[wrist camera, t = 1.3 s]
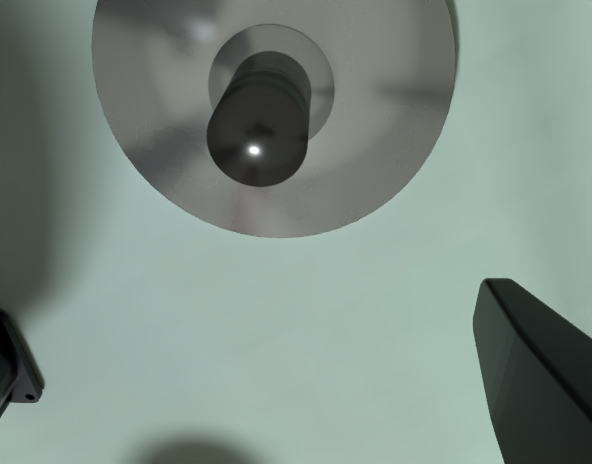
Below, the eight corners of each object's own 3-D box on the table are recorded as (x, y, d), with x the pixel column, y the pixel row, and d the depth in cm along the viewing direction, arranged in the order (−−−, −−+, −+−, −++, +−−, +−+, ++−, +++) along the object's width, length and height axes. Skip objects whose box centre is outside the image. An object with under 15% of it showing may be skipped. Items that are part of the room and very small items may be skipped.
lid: (428, 228, 21) (455, 314, 17) (139, 227, 22) (91, 310, 18) (479, -138, 14) (550, -157, 10) (56, -122, 15) (-59, -133, 11)
